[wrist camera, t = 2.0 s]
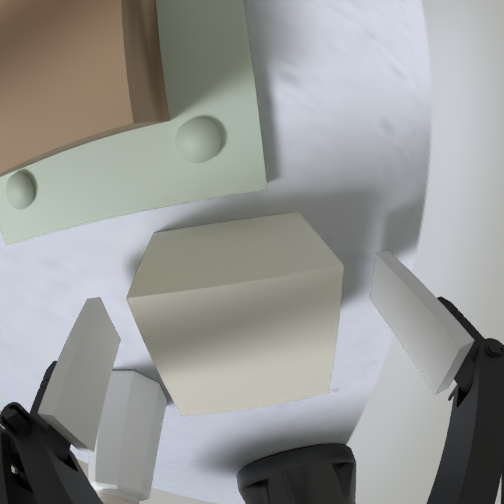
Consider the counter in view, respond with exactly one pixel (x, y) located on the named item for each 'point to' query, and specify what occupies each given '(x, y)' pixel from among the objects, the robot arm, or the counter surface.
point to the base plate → (158, 136)
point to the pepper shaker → (127, 439)
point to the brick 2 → (239, 312)
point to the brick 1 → (76, 75)
